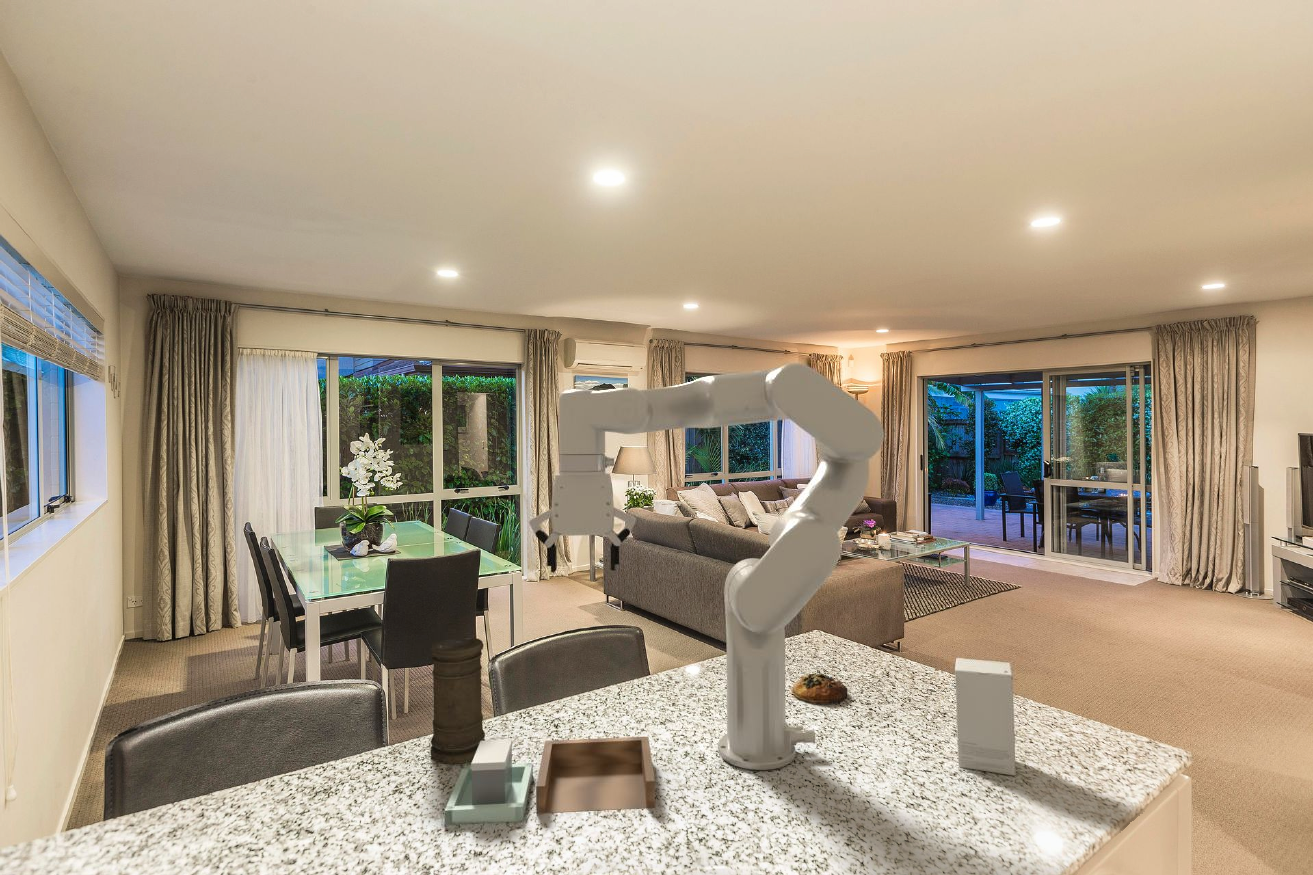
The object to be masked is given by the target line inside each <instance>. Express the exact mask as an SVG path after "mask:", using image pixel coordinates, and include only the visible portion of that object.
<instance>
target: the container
mask: <svg viewBox="0 0 1313 875" xmlns="http://www.w3.org/2000/svg"><path fill="white" fill-rule="evenodd" d="M483 649H484V642H483V640H481V639H480V638H477V637H470V636H469V637H468V636H466V637H465V636H459V637H451V638H447V639H446V638H445V639H442V640H438V641H436V642H434V643H433V644H432V645H431V647H430V650H429V651H430V654H431V655H432V658H431V659H432V662H433V670H432V672H431V673H432V675H433V676H432V678H433V679H432V680H433V685H432V686H433V688H432V689H433V690H432V691H433V719H432V727H433V729H432V730H433V735H432V738H431V739H430V744H431V747H430V750H429V752H430V756H431V759H432V760H433V761H435V762H437V763H439V764H447V765H448V764H449V765H457V764H465V763H468V762H472V761H473V758H474V756H475V753H476V751H477V749H478V746H479V744H480V741H486V739H485V737H486V733H485V731H484V728H483V720H484V719H483V718H484V715H483V712H482V710H483V709H482V670H483V669H482V668H483V667H482V664H481V662H482V661H481V658H482V654H483V652H482V650H483Z"/></svg>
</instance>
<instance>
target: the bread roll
mask: <svg viewBox="0 0 1313 875" xmlns="http://www.w3.org/2000/svg"><path fill="white" fill-rule="evenodd" d="M790 691H791V693H792V694H793V695H794V697H795V698H796V699H798V700H801V701H803V702H807V703H812V704H816V705H821V704H822V705H823V704H825V705H826V704H827V705H828V704H830V705H831V704H838V703H841V702H843V701H845V700H846V699H847V698H848V688H847V686H846V685H844V684H843V683H842V681H841V680H840V679H838V680H835V678H833V677H832V676H829V675H827V674H824V673H820V672H819V673H816V674H814V673H811V674H810V673H809V674H807V675H802V676H801V677H800V679H799V680H797V681H796V682H795V683H794V684H793V685H792V688H791V690H790Z"/></svg>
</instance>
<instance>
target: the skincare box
mask: <svg viewBox="0 0 1313 875" xmlns="http://www.w3.org/2000/svg"><path fill="white" fill-rule="evenodd" d="M955 659H956V661H955V665H954V666H955V667H954V678H955V703H956V704H955V706H956V707H955V708H956V710H955V711H956V733H957V734H956V737H957V739H956V740H957V760H958V762H957V763H958V768H963V769H969V770H975V771H981V772H989V773H995V774H1003V775H1007V776H1016V774H1017V773H1016V742H1015V741H1016V737H1015V736H1016V734H1015V715H1014V714H1015V712H1014V711H1015V710H1014V709H1015V708H1014V706H1015V705H1014V682H1013V681H1014V680H1013V679H1014V675H1013V670H1012V666H1011V663H1010V662H1007V661H1006V662H1002V661H995V660H994V661H992V660H984V659H983V660H981V659H973V658H972V659H970V658H961V657H956V658H955Z"/></svg>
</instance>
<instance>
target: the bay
mask: <svg viewBox="0 0 1313 875" xmlns="http://www.w3.org/2000/svg"><path fill="white" fill-rule="evenodd" d="M649 738H650V737H649V736H632V737H631V736H629V737H626V736H625V737H607V738H606V737H604V738H603V737H602V738H580V739H579V738H577V739H558V740H556V739H555V740H545V741H544V743H543V748H542V749H543V750H542V754H541V759H540V764H539V770H538V775H537V780H536V784H535V803H536V804H535V808H536V809H535V810H536V811H535V813H536V814H539V815H540V814H552V813H553V814H557V813H574V812H596V811H615V810H637V809H638V810H639V809H640V810H641V809H655V808H656V798H655V797H656V791H655V790H656V789H655V788H656V780H655V773H654V768H653V761H652V760H653V759H652V753H651V745H650V739H649Z"/></svg>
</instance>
